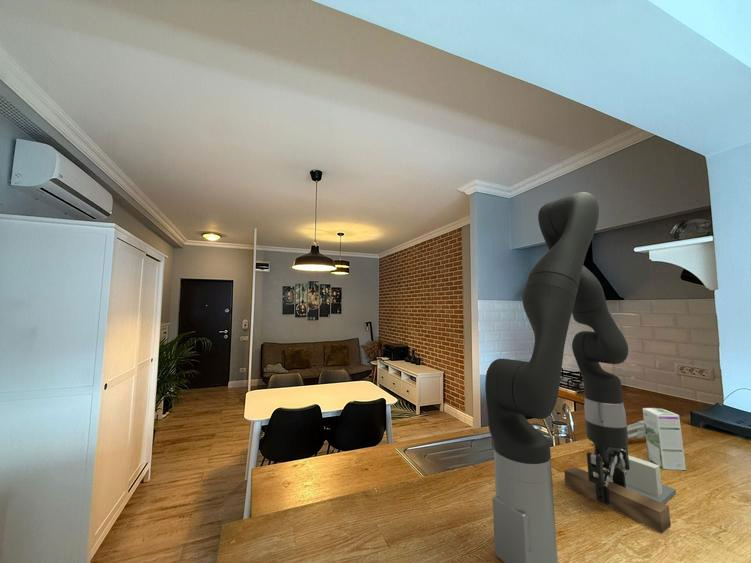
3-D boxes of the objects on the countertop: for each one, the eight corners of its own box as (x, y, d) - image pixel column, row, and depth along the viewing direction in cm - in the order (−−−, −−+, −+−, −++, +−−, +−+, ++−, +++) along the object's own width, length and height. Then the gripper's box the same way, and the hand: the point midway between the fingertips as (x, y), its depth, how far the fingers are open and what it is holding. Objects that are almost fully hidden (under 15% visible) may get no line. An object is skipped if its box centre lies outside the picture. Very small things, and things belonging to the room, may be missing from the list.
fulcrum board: (656, 511, 63) (653, 476, 64) (592, 483, 73) (590, 453, 74) (676, 493, 69) (672, 462, 70) (614, 470, 79) (612, 443, 80)
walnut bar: (671, 527, 59) (668, 505, 59) (662, 534, 57) (660, 512, 57) (574, 482, 74) (573, 465, 75) (565, 487, 72) (564, 469, 73)
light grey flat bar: (679, 438, 97) (673, 414, 98) (600, 461, 93) (594, 436, 93) (672, 435, 99) (666, 412, 100) (595, 458, 95) (589, 433, 95)
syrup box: (687, 471, 79) (681, 414, 81) (662, 469, 80) (656, 413, 82) (669, 460, 85) (664, 408, 86) (646, 459, 86) (641, 407, 87)
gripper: (610, 432, 61) (618, 518, 59) (638, 419, 68) (646, 495, 66) (571, 421, 67) (577, 498, 65) (600, 410, 74) (606, 479, 73)
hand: (611, 496), depth 66 cm, fingers open, 7 cm apart
